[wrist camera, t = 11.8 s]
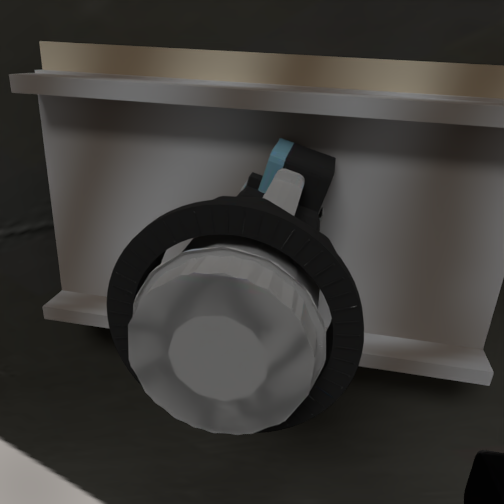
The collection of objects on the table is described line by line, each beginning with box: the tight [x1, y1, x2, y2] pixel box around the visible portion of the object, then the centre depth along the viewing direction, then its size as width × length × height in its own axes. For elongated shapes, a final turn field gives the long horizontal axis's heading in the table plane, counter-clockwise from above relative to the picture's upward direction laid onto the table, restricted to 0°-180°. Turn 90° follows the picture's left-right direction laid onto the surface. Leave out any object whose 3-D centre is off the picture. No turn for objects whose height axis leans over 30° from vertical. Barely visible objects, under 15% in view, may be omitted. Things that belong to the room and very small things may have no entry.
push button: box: [107, 138, 364, 435], centre depth 13 cm, size 7×5×10 cm
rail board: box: [9, 41, 504, 386], centre depth 18 cm, size 18×12×3 cm, turn 87°
